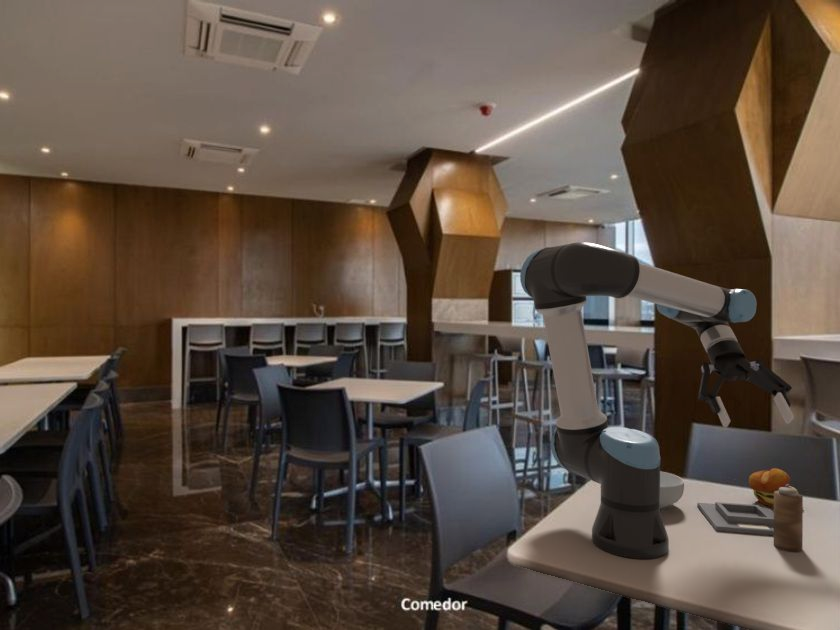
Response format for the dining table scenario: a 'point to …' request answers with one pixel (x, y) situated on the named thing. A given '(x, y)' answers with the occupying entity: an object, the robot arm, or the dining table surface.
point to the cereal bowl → (670, 489)
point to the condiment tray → (739, 517)
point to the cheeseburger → (768, 484)
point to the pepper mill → (788, 519)
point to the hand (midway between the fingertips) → (758, 422)
